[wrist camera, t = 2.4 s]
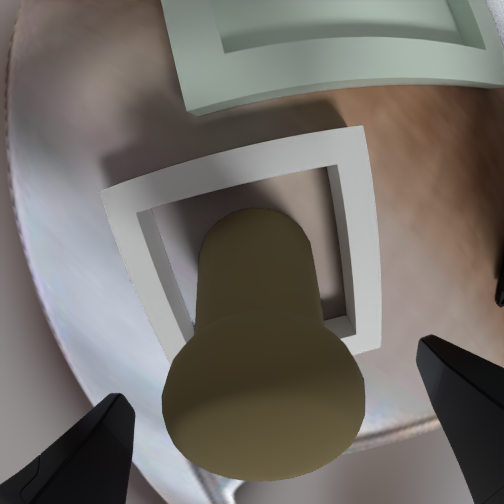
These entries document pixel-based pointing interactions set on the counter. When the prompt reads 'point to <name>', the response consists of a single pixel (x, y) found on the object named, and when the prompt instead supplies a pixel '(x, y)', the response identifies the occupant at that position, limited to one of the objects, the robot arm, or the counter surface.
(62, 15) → the counter surface
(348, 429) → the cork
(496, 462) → the robot arm
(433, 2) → the tray
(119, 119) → the counter surface
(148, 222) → the collar block
